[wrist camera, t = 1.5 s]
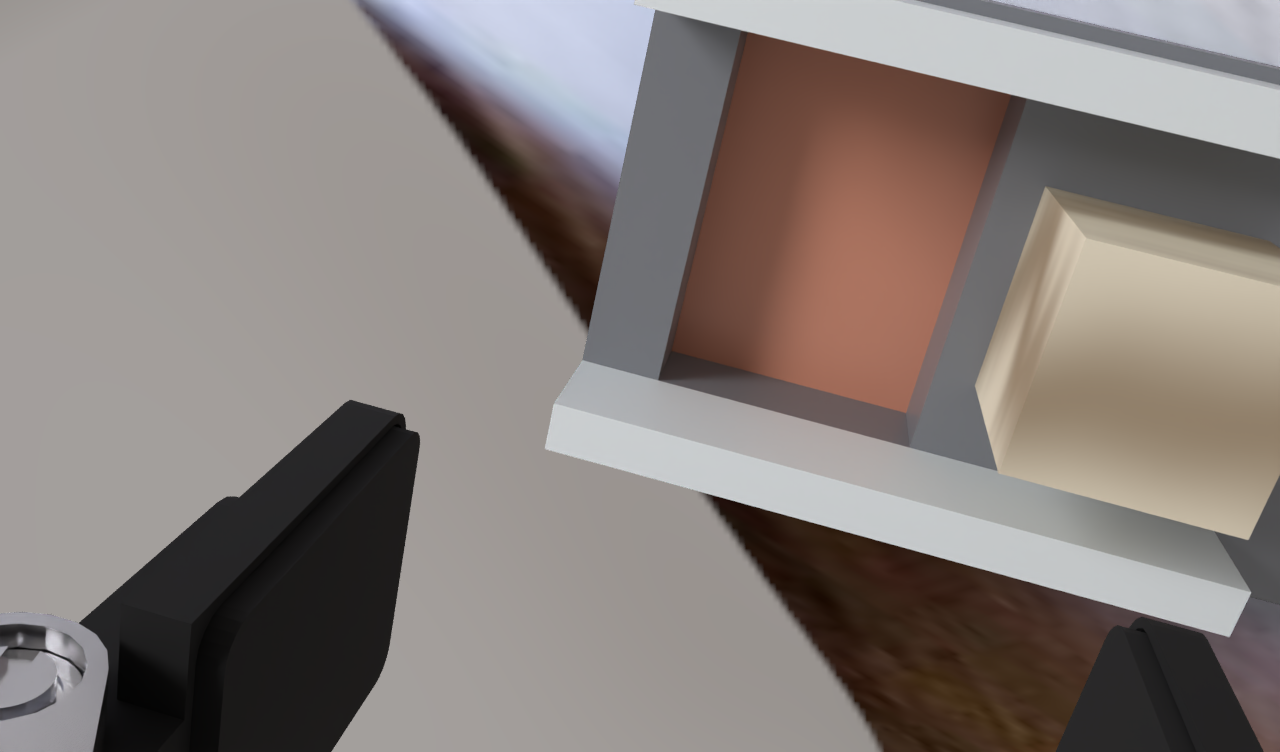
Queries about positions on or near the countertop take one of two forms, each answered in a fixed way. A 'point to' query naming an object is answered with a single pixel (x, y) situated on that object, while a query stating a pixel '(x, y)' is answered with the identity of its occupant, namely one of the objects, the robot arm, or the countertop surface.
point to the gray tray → (899, 271)
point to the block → (1139, 364)
